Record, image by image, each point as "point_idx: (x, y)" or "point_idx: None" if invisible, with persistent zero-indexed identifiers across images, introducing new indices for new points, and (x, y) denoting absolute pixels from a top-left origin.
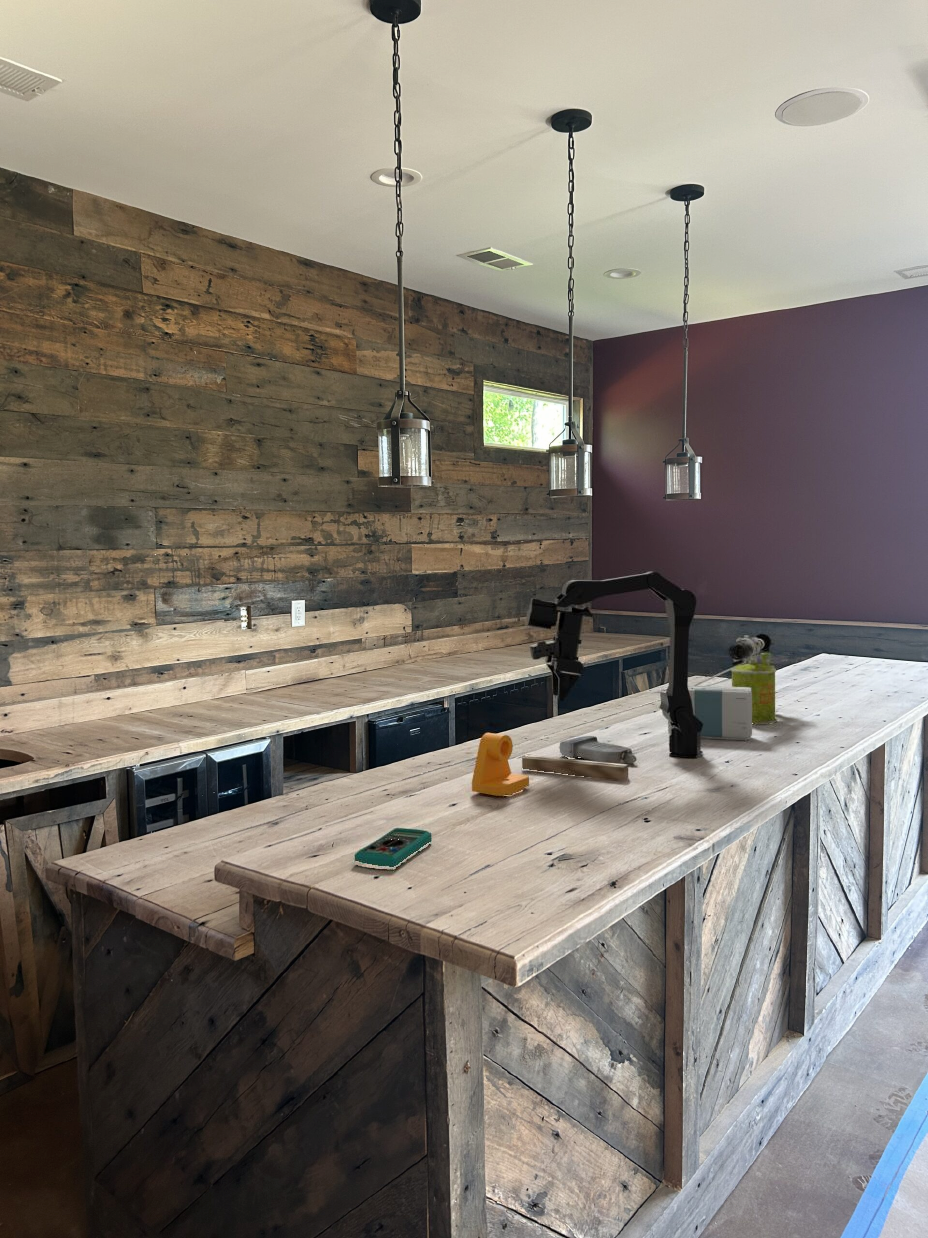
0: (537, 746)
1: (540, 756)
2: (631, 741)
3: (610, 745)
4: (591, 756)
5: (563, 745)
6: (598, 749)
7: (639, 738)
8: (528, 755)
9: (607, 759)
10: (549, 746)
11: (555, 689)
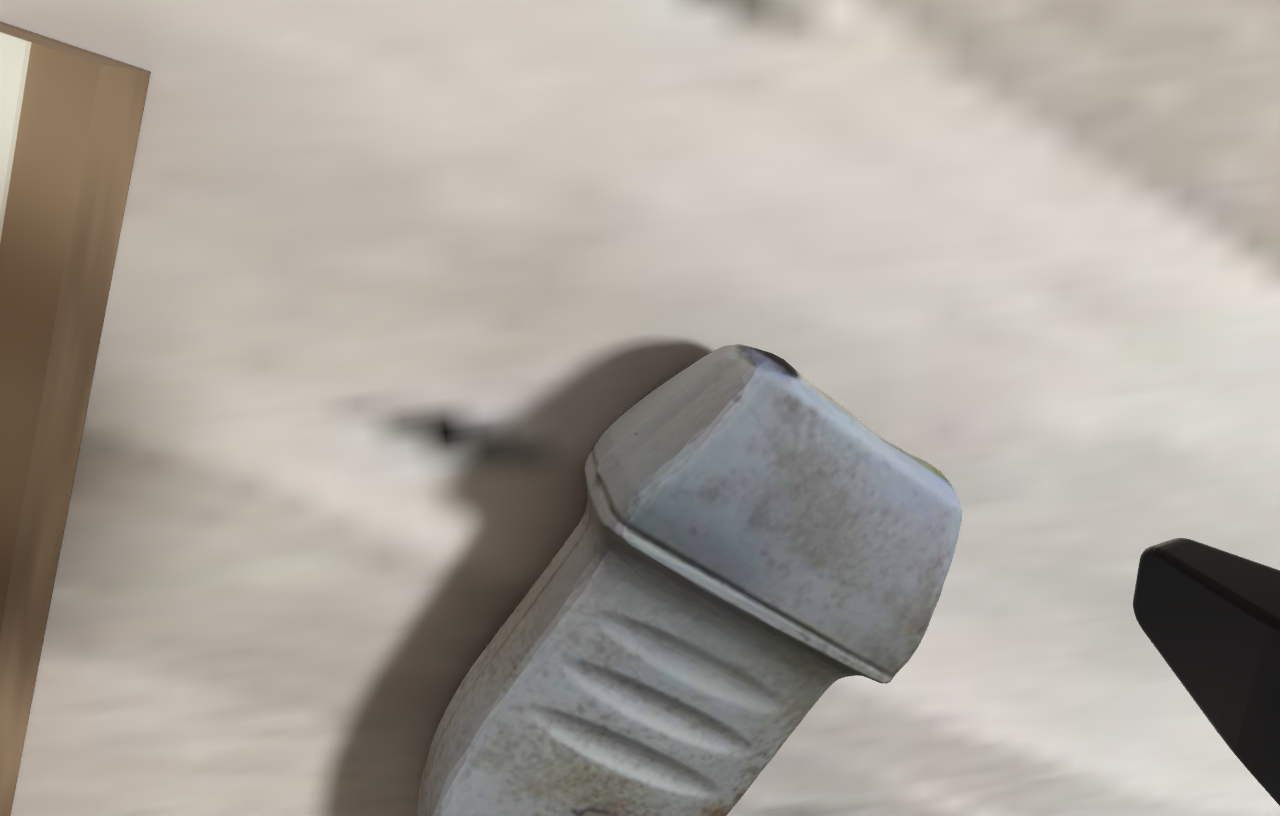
0: (1123, 74)
1: (52, 236)
2: (1189, 758)
3: (654, 807)
4: (496, 647)
5: (695, 407)
6: (500, 742)
7: None
8: (17, 82)
9: (426, 769)
10: (1109, 191)
11: (1251, 666)
